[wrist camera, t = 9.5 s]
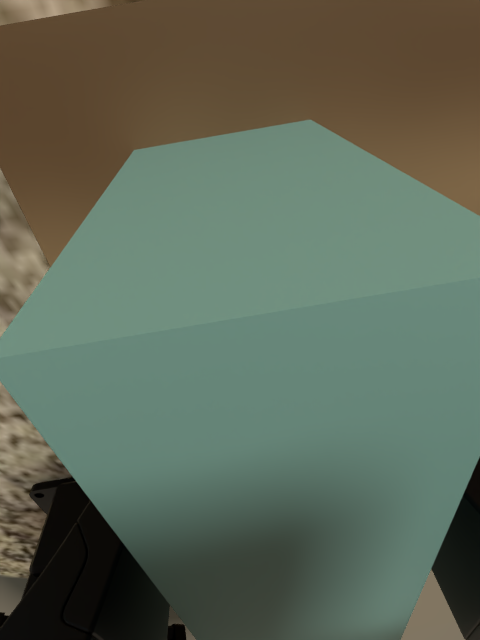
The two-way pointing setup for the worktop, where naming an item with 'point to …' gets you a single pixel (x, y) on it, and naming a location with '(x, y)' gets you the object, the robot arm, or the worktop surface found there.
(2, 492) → the worktop surface
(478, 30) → the board
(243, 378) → the tapered teal post
